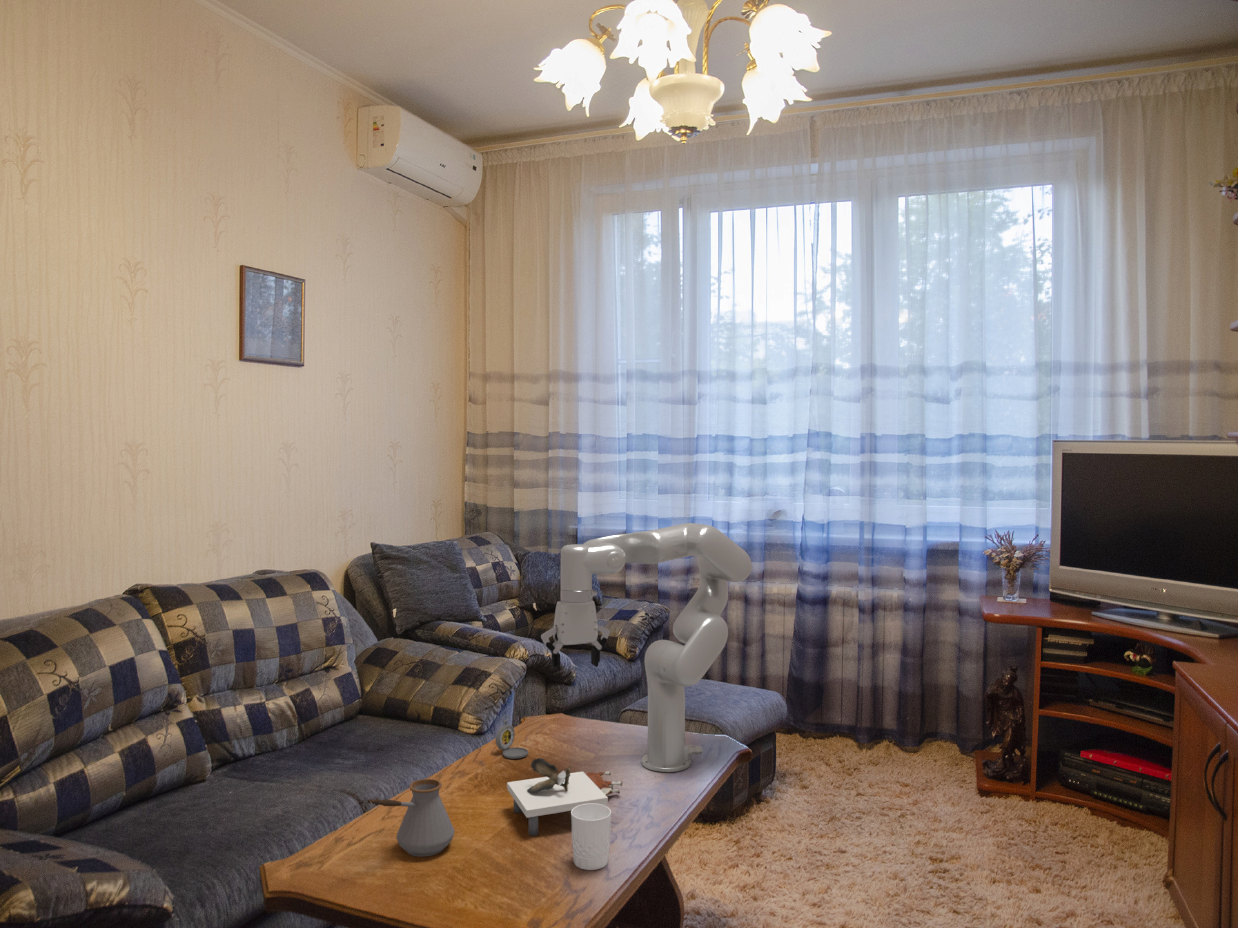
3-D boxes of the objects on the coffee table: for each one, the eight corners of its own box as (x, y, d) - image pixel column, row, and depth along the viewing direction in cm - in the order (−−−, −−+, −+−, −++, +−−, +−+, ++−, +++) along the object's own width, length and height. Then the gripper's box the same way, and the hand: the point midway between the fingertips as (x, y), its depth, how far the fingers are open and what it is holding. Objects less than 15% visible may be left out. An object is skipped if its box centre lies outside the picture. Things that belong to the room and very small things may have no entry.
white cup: (616, 856, 170) (616, 806, 170) (602, 874, 163) (603, 822, 162) (579, 849, 173) (579, 800, 172) (564, 867, 165) (564, 816, 165)
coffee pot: (425, 830, 181) (425, 759, 181) (466, 843, 175) (466, 770, 175) (344, 872, 163) (344, 794, 163) (387, 888, 157) (387, 807, 157)
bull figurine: (626, 806, 195) (592, 809, 192) (606, 782, 208) (574, 784, 205) (628, 787, 195) (594, 789, 192) (608, 764, 207) (576, 766, 205)
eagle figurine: (569, 776, 193) (529, 768, 192) (573, 756, 189) (533, 749, 188) (564, 806, 186) (523, 798, 186) (569, 786, 182) (527, 778, 182)
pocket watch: (526, 760, 222) (526, 721, 222) (494, 759, 222) (494, 721, 222) (530, 749, 230) (530, 712, 230) (498, 748, 230) (499, 711, 230)
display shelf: (582, 796, 199) (582, 771, 199) (607, 825, 184) (607, 797, 184) (507, 808, 192) (507, 782, 192) (526, 839, 177) (526, 810, 177)
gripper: (604, 591, 212) (603, 660, 213) (537, 595, 206) (536, 666, 206) (615, 596, 205) (615, 667, 206) (546, 601, 199) (546, 674, 199)
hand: (575, 667), depth 206 cm, fingers open, 9 cm apart
